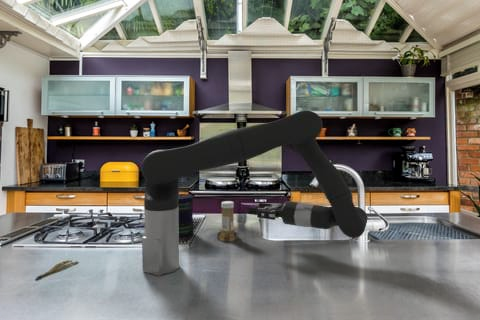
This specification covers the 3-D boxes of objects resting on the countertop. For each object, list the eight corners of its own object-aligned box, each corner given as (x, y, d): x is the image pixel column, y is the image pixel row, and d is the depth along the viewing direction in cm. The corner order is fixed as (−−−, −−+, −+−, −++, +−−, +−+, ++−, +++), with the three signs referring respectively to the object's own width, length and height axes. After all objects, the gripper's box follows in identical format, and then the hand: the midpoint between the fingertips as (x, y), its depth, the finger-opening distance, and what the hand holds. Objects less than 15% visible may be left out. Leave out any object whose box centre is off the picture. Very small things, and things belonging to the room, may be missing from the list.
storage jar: (191, 239, 111) (190, 198, 110) (164, 239, 111) (163, 198, 110) (195, 231, 121) (195, 193, 120) (170, 231, 121) (170, 193, 120)
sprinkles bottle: (236, 238, 111) (236, 202, 111) (225, 240, 109) (225, 203, 108) (229, 235, 115) (229, 200, 114) (219, 237, 113) (219, 201, 112)
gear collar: (230, 242, 107) (230, 235, 107) (213, 239, 111) (213, 232, 110) (240, 236, 113) (240, 230, 113) (223, 234, 117) (223, 227, 117)
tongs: (30, 282, 78) (31, 274, 78) (68, 264, 91) (68, 257, 91) (45, 284, 77) (45, 276, 77) (80, 265, 90) (80, 259, 90)
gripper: (306, 199, 103) (262, 194, 111) (292, 206, 91) (244, 200, 98) (305, 220, 104) (262, 214, 111) (291, 231, 91) (244, 223, 99)
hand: (253, 207), depth 105 cm, fingers open, 8 cm apart
